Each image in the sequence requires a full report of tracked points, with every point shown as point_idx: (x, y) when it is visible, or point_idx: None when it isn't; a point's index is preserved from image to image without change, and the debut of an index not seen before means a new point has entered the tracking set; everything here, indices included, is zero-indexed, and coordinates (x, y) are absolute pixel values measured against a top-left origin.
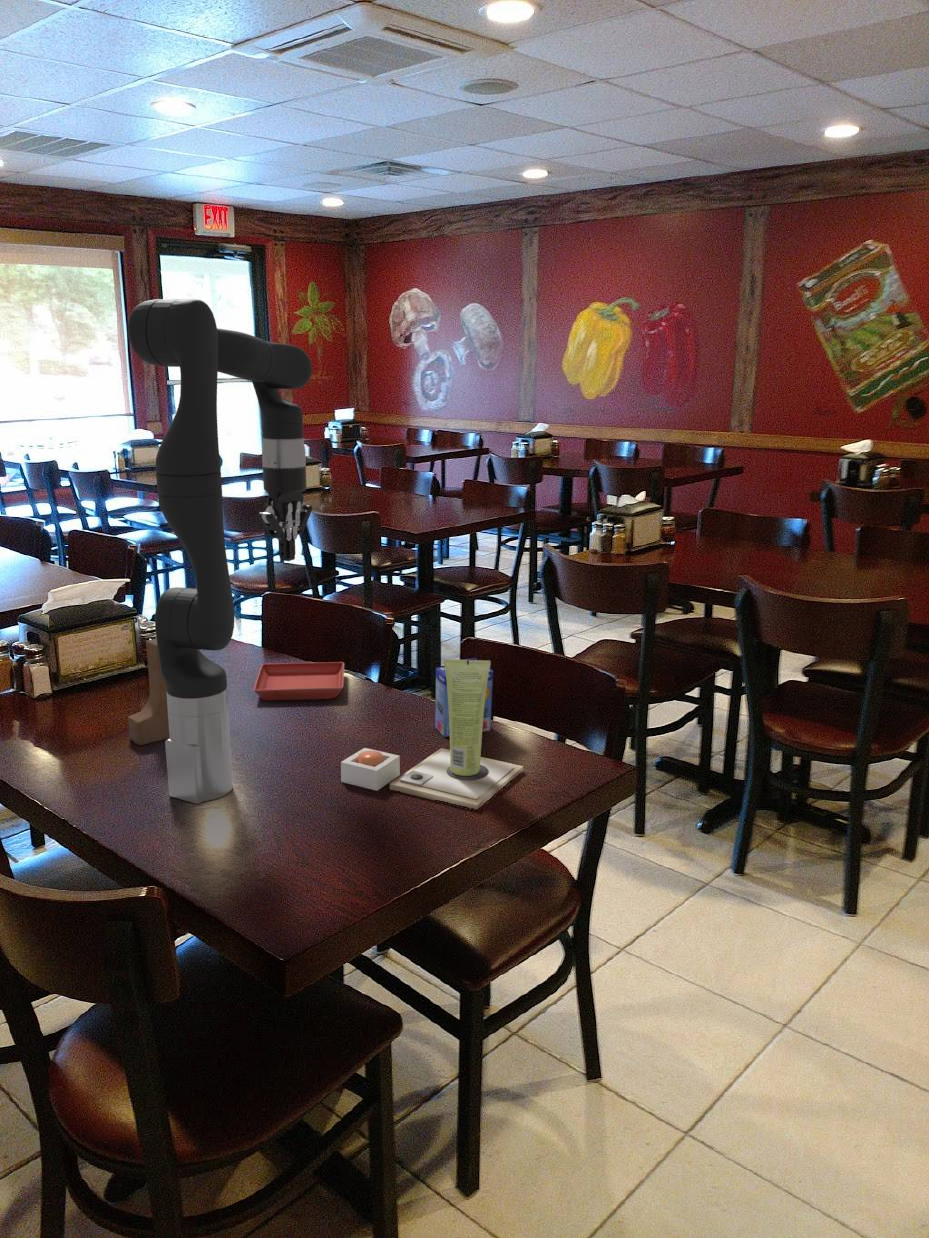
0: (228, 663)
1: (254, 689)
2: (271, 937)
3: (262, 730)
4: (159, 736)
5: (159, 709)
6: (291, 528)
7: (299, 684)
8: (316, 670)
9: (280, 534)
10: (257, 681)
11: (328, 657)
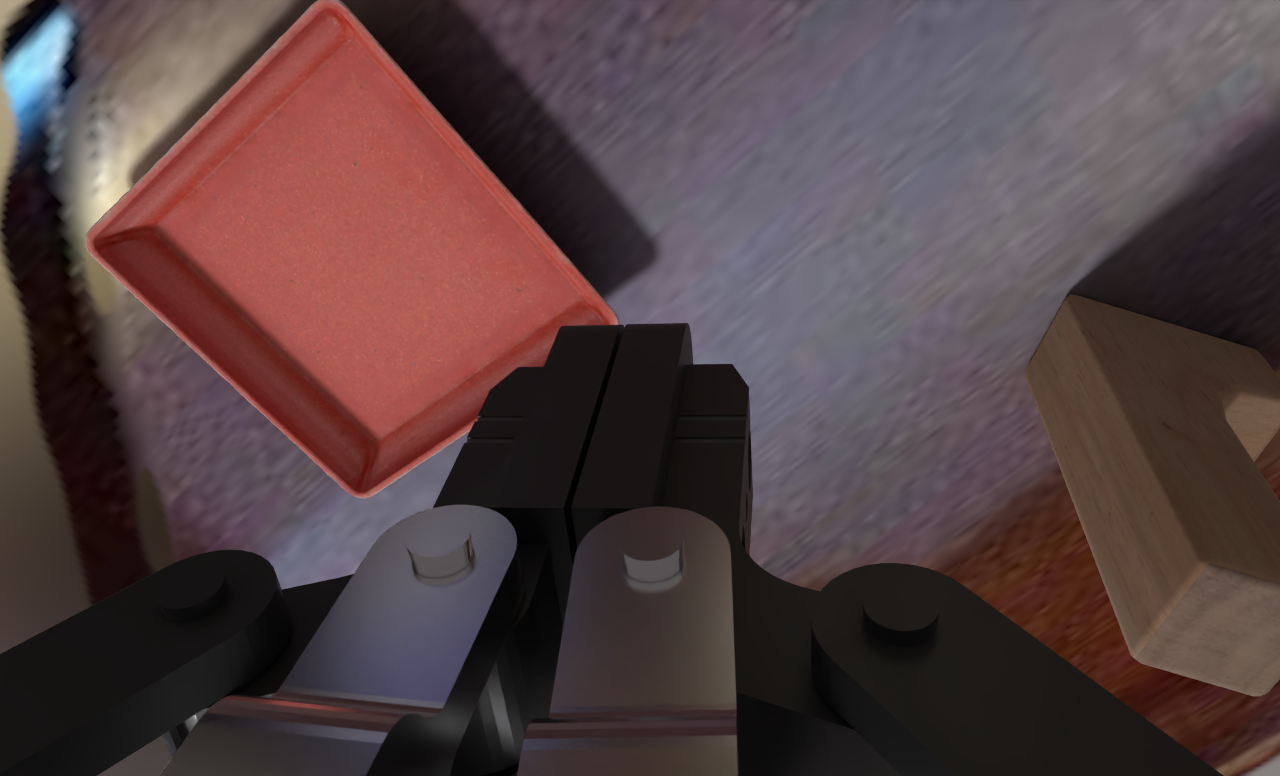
0: None
1: None
2: None
3: (873, 43)
4: (1184, 333)
5: (1217, 392)
6: (463, 731)
7: (361, 277)
8: (208, 313)
9: (1005, 656)
10: None
11: (42, 400)
